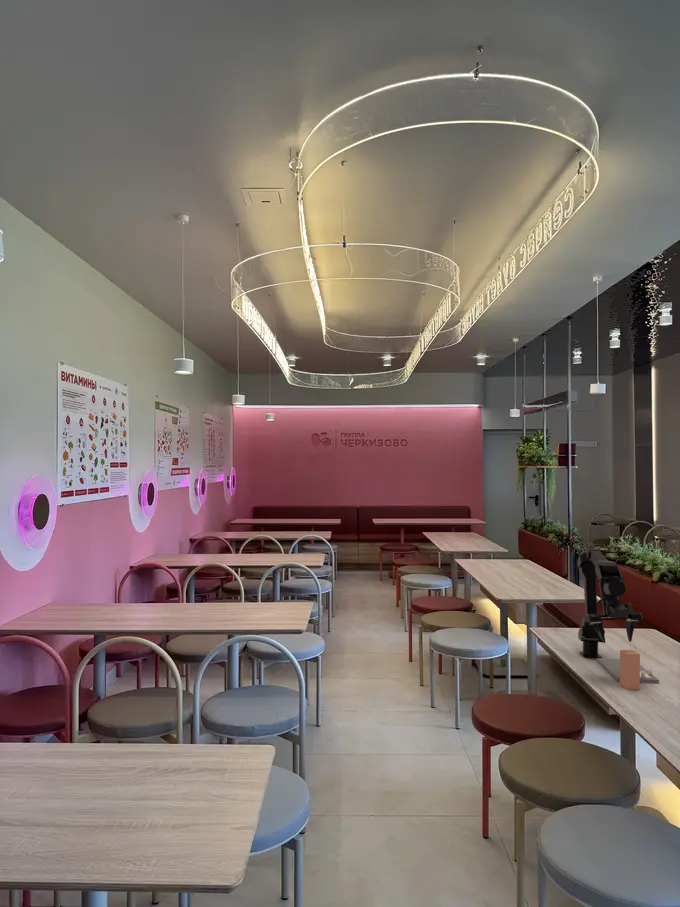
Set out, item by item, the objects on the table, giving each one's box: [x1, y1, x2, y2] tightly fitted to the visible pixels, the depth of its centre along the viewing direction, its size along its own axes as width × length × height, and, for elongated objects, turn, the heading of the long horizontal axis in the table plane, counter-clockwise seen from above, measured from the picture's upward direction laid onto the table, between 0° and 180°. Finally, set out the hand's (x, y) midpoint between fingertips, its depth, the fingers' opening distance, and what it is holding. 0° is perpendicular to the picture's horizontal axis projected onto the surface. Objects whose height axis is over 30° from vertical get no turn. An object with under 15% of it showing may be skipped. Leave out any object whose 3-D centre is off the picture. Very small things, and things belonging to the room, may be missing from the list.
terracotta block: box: [619, 649, 641, 691], centre depth 208 cm, size 4×4×12 cm
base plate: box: [595, 657, 660, 684], centre depth 224 cm, size 22×14×4 cm, turn 176°
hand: (617, 642), depth 215 cm, fingers open, 9 cm apart
